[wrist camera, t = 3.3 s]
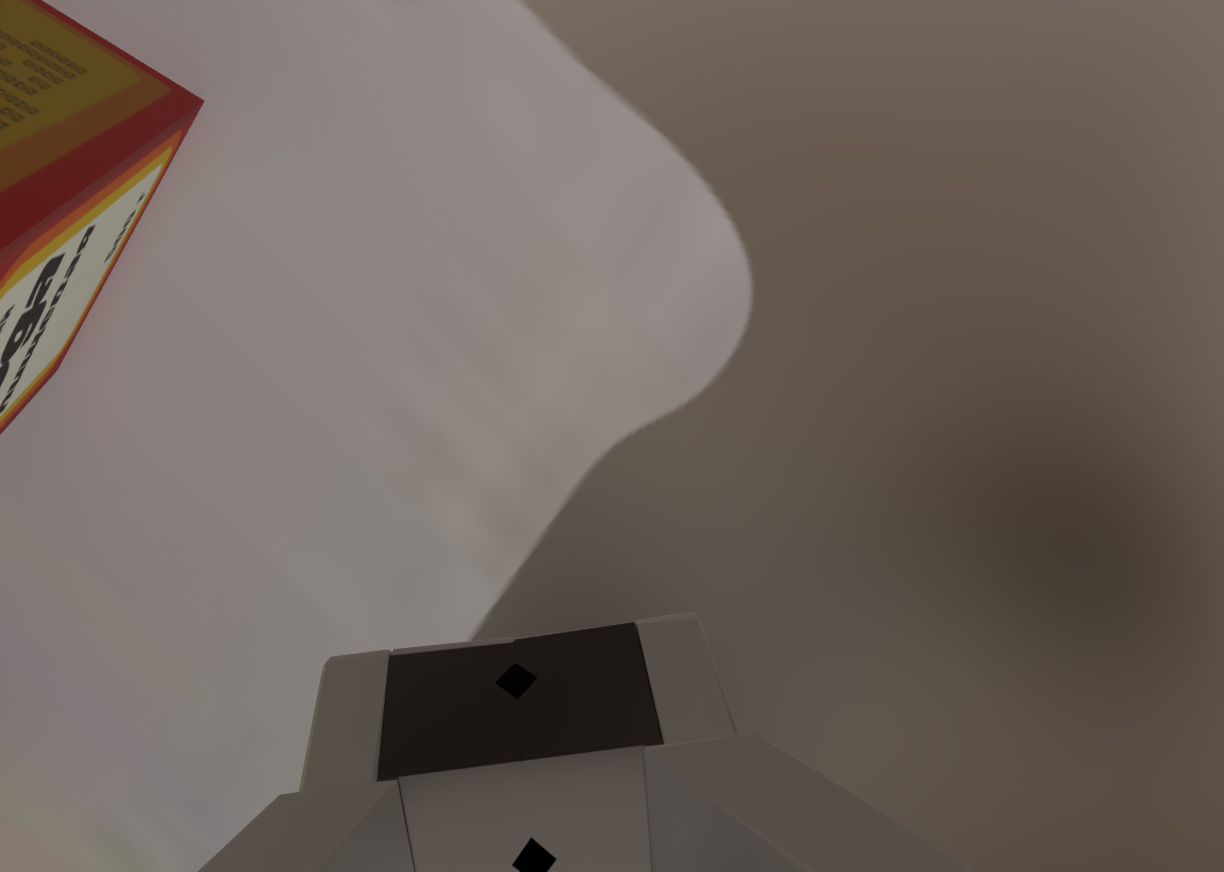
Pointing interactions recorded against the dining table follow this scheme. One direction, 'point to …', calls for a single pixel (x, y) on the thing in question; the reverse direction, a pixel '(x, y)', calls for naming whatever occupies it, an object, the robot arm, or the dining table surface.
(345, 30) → the dining table surface
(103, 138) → the baking soda box
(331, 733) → the robot arm
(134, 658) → the dining table surface
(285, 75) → the dining table surface
